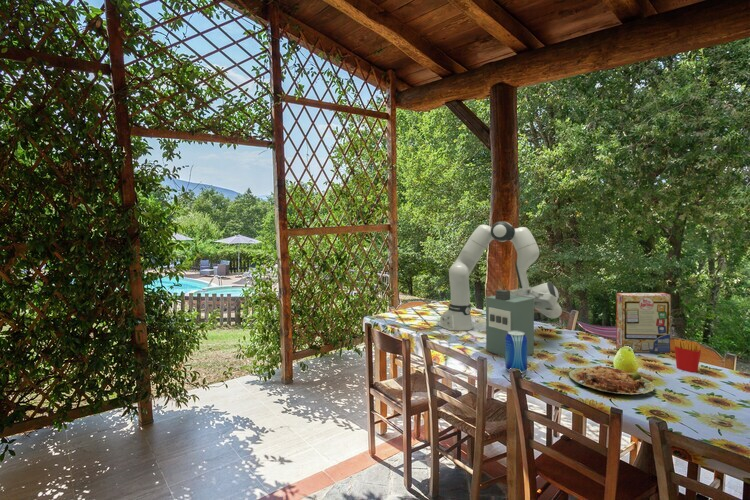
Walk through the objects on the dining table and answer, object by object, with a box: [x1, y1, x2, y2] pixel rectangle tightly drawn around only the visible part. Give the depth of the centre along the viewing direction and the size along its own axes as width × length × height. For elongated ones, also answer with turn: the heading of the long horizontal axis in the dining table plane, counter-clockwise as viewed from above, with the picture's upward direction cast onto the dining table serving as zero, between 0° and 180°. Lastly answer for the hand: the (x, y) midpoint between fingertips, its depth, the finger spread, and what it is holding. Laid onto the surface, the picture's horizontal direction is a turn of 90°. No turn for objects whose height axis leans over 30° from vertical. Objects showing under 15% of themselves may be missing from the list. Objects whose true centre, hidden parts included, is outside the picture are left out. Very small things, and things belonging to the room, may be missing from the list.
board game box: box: [615, 292, 672, 354], centre depth 177 cm, size 20×6×27 cm, turn 80°
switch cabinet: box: [485, 295, 535, 358], centre depth 179 cm, size 16×16×26 cm
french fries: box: [673, 338, 702, 374], centre depth 154 cm, size 8×4×12 cm, turn 33°
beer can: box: [504, 331, 528, 375], centre depth 157 cm, size 8×8×16 cm
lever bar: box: [494, 287, 532, 301], centre depth 181 cm, size 5×22×4 cm, turn 124°
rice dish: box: [568, 365, 656, 395], centre depth 144 cm, size 28×28×5 cm
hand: (525, 290), depth 185 cm, fingers open, 4 cm apart
